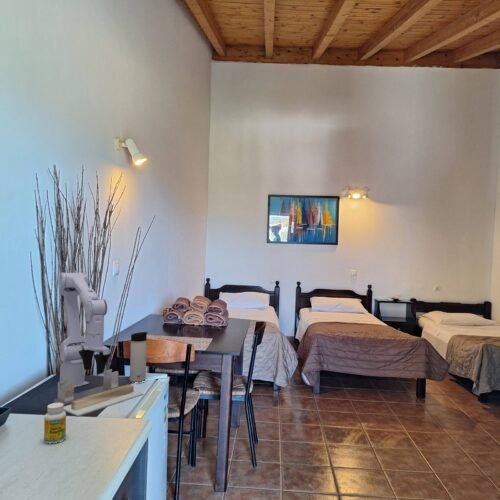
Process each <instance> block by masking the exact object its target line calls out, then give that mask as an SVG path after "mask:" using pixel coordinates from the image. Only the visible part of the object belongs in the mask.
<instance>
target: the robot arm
mask: <svg viewBox="0 0 500 500" xmlns="http://www.w3.org/2000/svg"><path fill="white" fill-rule="evenodd" d="M57 282H58V283H57V284H58V291H59V295H61V296H63V300H64V311H65V321H66V331H67V337H66V338H65V339H64V340H63V341H62V342H61V343H60V352H59V356H60V360H61V362H62V363H61V365H60V367H59V382H61V381H65V380H67V381H68V383H72V382H73V383H74V389H75V388H77V387H79V388H80V387H81V386H85V385H90V382H89V381H86V379H85V377H86V375H85V374H86V373H85V372H86V371H88V370H91V369H92V366H93V365H92V364H93V358H94V360H95V363H96V364H95V365H96V373H97V375H102V374H104V371H105V369H106V365H107V363H108V360H109V358H110V357H112V355H111V352H110V348H109V347H107V346H105V345H104V333H105V332H104V331H105V328H104V327H105V316H106V315H107V313H108V303H107V301H106V299H105V298H104V299H103V298H100V297H99V295H98V294H97V293H96V291H95V290H94V289H93V288H90V287H89V285H88V283H89V278H88V275H87V273H86V271H85V272H84V271H83V272H63V271H62V272H61V273H60V274H59V276H58V280H57ZM78 296H79V300H80V301H81V303H82V305H83V306H84V314H85V321H86V337H85V336H83V335H82V331H81V323H80V313H79V303H78V302H79V301H78ZM95 352H96V353H97V354H96V353H95Z"/></svg>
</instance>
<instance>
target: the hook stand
mask: <svg viewBox="0 0 500 500" xmlns="http://www.w3.org/2000/svg"><path fill="white" fill-rule="evenodd" d="M112 371H113V369H112V368H110V369H106V370H105V369H104V373H103V381H102V382H103V384H102V385H100V386H97V387H93V388H90V389H86V390H83V391H80V392H76V393H75V388H74V383H73V382H72V383H68V381H67V380H65V381H61V382H60V381H58V382H57V398H55V399H53V403H63V407H64V406H68V405H71V402H72V401H74V400H77V399H81V398H84V397H87V396H91V395H94V394H98V393H101V392H104V391H108V390H111V389H115V388H118V387H121V386H120V385H119V371H118V370H116V371H115V370H114V371H113V372H112Z"/></svg>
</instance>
